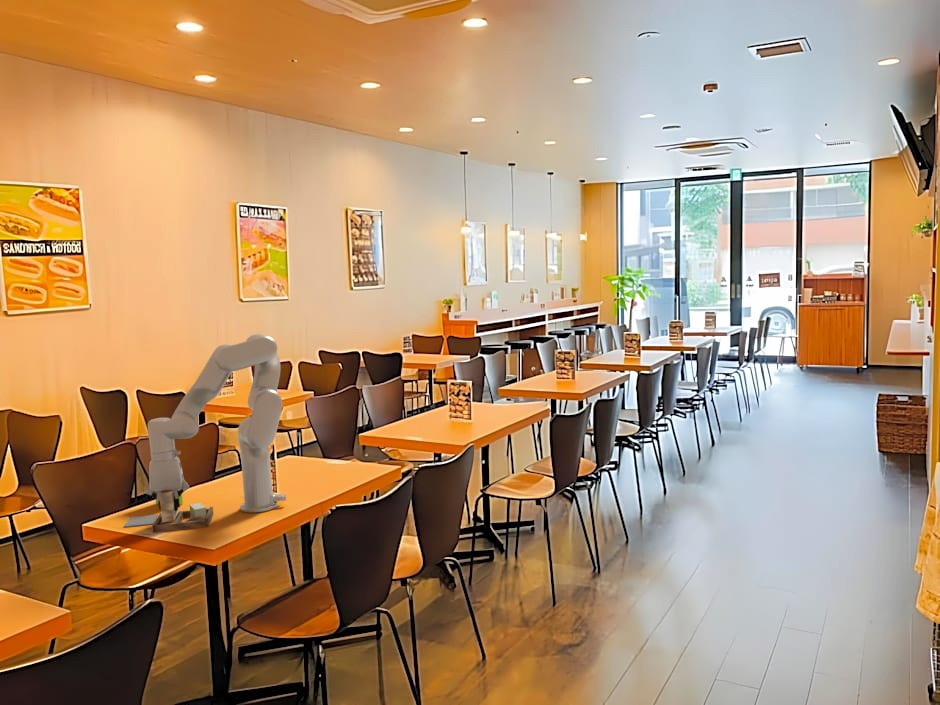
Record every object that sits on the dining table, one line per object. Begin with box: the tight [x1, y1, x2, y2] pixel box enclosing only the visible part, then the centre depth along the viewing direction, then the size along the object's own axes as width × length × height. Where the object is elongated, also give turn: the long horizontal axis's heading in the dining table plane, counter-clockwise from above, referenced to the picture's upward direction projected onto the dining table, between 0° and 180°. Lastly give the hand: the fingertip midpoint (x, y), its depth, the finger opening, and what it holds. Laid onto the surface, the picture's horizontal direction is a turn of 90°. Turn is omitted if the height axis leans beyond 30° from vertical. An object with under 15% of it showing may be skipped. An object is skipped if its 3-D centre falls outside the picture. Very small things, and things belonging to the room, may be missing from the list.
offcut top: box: [189, 502, 207, 517], centre depth 261 cm, size 4×7×2 cm, turn 33°
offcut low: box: [189, 513, 206, 521], centre depth 261 cm, size 4×9×3 cm, turn 18°
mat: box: [123, 514, 159, 528], centre depth 264 cm, size 9×10×1 cm
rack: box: [151, 506, 214, 533], centre depth 260 cm, size 17×14×2 cm
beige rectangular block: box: [159, 490, 180, 523], centre depth 259 cm, size 4×10×9 cm, turn 12°
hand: (169, 510), depth 259 cm, fingers closed on beige rectangular block, 3 cm apart
